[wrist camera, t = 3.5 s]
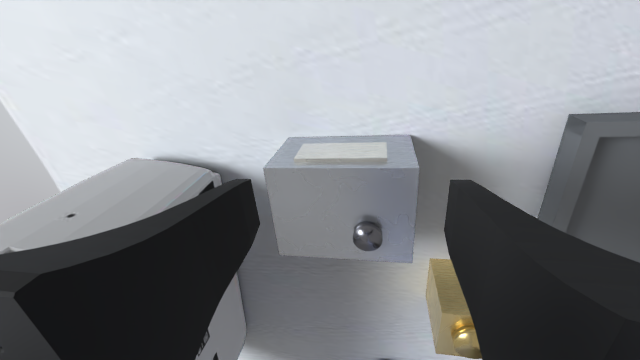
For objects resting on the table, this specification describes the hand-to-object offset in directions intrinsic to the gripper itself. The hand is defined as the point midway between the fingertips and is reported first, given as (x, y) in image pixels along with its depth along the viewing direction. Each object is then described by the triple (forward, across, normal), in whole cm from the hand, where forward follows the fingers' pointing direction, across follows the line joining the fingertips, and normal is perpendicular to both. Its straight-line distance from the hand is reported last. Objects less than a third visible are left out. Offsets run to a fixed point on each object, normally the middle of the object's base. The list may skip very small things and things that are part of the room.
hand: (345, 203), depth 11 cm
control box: (+9, +1, +4) cm, 10 cm away
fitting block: (+9, -7, +13) cm, 17 cm away
